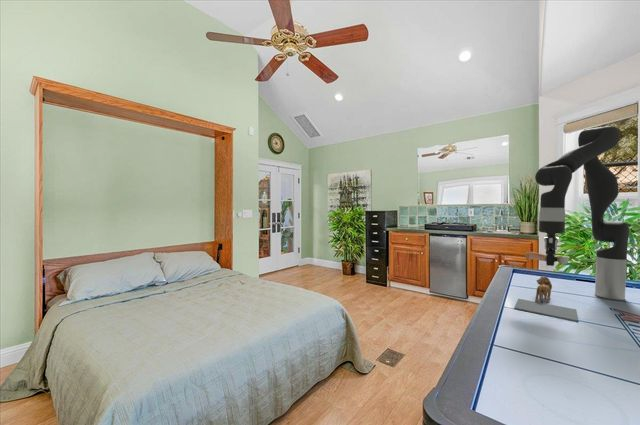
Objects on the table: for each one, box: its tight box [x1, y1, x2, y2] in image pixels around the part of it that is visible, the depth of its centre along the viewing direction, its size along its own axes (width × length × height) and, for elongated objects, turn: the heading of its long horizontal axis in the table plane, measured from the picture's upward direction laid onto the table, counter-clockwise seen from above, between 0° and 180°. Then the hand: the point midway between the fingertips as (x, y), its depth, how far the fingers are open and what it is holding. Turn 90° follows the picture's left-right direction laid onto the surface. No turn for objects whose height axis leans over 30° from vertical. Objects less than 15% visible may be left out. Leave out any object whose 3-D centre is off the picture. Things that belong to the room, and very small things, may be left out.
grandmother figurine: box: [525, 251, 570, 266], centre depth 106 cm, size 8×4×13 cm
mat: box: [513, 298, 579, 323], centre depth 106 cm, size 14×18×1 cm
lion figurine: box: [534, 275, 553, 303], centre depth 117 cm, size 15×5×9 cm, turn 140°
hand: (550, 263), depth 105 cm, fingers closed on grandmother figurine, 7 cm apart
